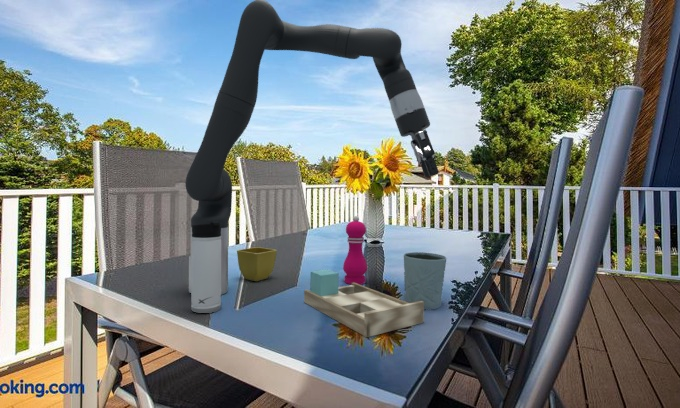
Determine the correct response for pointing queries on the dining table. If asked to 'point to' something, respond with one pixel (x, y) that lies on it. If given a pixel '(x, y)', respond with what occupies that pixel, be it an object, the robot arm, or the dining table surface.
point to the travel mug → (206, 268)
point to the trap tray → (367, 309)
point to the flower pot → (256, 262)
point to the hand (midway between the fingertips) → (432, 175)
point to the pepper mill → (355, 253)
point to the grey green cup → (424, 278)
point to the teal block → (324, 282)
